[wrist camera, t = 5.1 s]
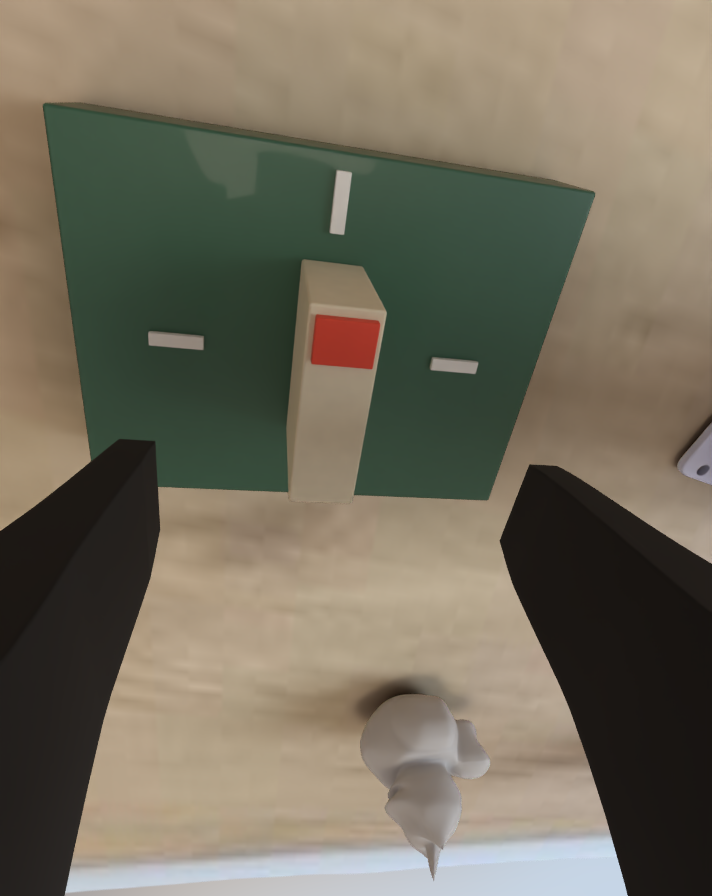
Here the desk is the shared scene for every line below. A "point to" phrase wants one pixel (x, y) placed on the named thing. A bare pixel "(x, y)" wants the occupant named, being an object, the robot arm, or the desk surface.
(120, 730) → the desk surface
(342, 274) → the red topped block
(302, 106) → the desk surface
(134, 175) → the console
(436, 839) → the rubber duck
